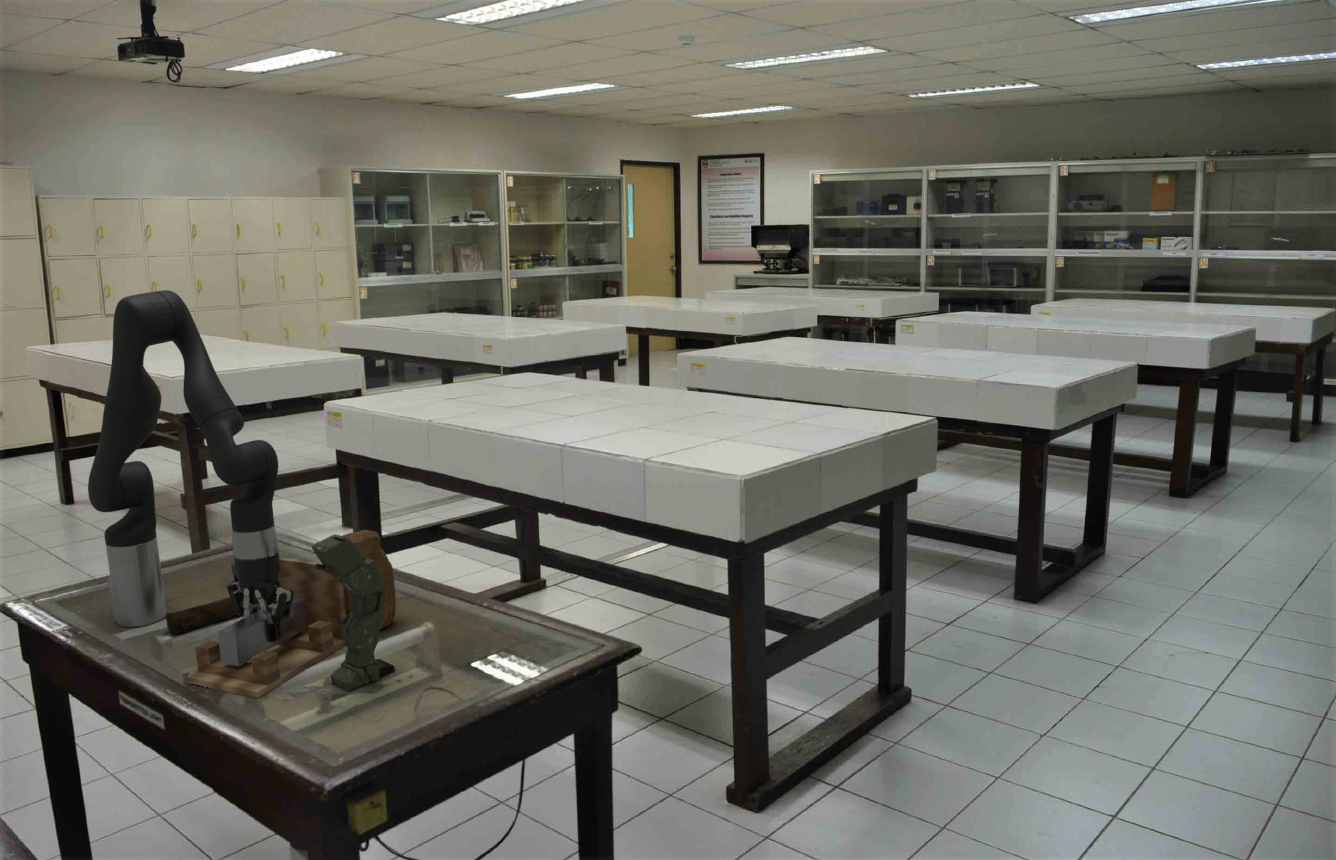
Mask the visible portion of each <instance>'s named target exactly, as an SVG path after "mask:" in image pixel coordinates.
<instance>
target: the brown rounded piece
mask: <svg viewBox="0 0 1336 860" xmlns="http://www.w3.org/2000/svg"><path fill="white" fill-rule="evenodd" d="M342 536H343V537H346V538H349V539H350V540H351V542H352V543H353V544H354V546H355V547H356V549H357V550H358V551H359V553H360V554H361V556H362V557H365V558H368V559H371V560H374V562H375V563H376V565H377V566H378V568H379V569H380V571H381V572H382V588H383V589H384V590H386V597H385V603H384V607H383V612H382V618H381V624H380V630H379V632H380V631H381V630H383V629H385V628H387V627H389V626H390V625H391V623H392V622H393V621H394V617H395V615H396V610H397V609H396V608H397V606H396V605H397V603H396V598H397V597H396V587H395V586H396V585H395V575H394V574H395V573H394V567H393V565H392V562H391V561H390V560H389V558H388V556H387V554H386V552H385V550H384V549H382V547H381V545H380V544H381V538H380V535H379V534H378V532H377V531H374V530H369V529H362V530H359V531H357V532H356V531H355V532H350V533H346V534H343V535H342ZM343 589H344V600H345V612H346V615H347V614H348V615H349V614H350V613H351V612H352V609H351V605H350V592H348V591H347V590H346V589H345V588H344V587H343Z"/></svg>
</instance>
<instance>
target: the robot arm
mask: <svg viewBox="0 0 1336 860" xmlns="http://www.w3.org/2000/svg"><path fill="white" fill-rule="evenodd" d="M112 326H113V327H112V353H111V355H112V356H111V365H110V372H109V381H108V387H107V391H106V395H105V401H104V407H103V413H102V423H101V430H100V436H99V441H98V445H97V449H96V452H95V455H94V459H93V462H92V465H91V468H90V471H89V476H88V482H87V483H88V484H87V492H88V493H87V494H88V499H89V501H90V504H91V506H92V507H93V508H94V509H95V510H96V511H97V512H100V513H114V512H118V511H123V510H128V511H127V512H126V514H125V515H124V516H123V517H121V518H120V519H119V520H117V521H116V522H114V523H113V524H111V525H109V526H108V527H107V528H106V529H105V531H104V541H105V542H104V543H105V549H106V556H107V563H108V571H109V576H108V577H107V586H108V592H109V599H110V605H111V612H112V620H113V622H116V624H117V625H118V626H120V627H123V628H136V627H143V626H147V625H151V624H155V623H157V622H159V621H161V620H162V619H164V618H165V617H166V614H167V613H168V612H167V605H166V599H165V591H164V590H165V589H164V581H163V575H162V567H161V560H160V551H159V545H158V537H157V535H158V534H157V514H156V513H157V512H156V502H155V501H156V500H155V499H156V498H155V486H154V480H153V476H152V472H151V469H150V468H149V467H148V465H147V464H146V463H145V462H143V461H140V460H133V461H128V459H129V458H130V457H131V455H132V454H133V453H134V452H135V451H136V450H138V449H139V448H140V447H141V446H142V445H143V444H144V442H146V440H147V439H149V438H150V436H151V435H152V433H153V432H154V431H155V429H156V427H157V424H158V421H159V416H160V411H161V406H162V394H161V390H160V388H159V386H158V385H157V383H156V382H155V381H154V379H153V378H152V377H151V375H150V373H148V372H147V370H146V368H145V367H144V362H145V361H144V359H145V353H146V351H147V349H148V348H149V347H150V346H155V345H159V344H164V343H168V342H173V343H174V345H175V346H176V348H177V349H178V350H179V353H180V354H181V356H182V360H183V366H184V367H183V369H184V370H183V371H184V373H183V386H182V387H183V389H182V390H183V391H182V393H183V398H184V399H183V400H184V403H185V405H186V408H187V409H188V412H189V413H190V415H191V417H192V418H193V420H194V422H195V423H196V425H197V426H198V428H199V429H200V431H201V432H202V434H203V435H204V440H205V442H206V446H207V449H208V453H209V455H210V456H209V457H210V459H211V463H212V466H213V467H212V468H213V471H214V472H215V474H216V477H218V479H219V480H221V481H222V482H223V483H224V484H225V485H228V486H230V487H238V486H242V485H245V486H244V489H243V491H241V492H240V494H238V495H235V497H234V498H232V499H231V501H230V503H229V504H230V505H229V508H230V509H229V512H230V521H231V529H232V537H231V538H232V541H231V543H232V544H231V545H232V553H233V561H234V564H235V573H236V578H237V579H238V580H239V581H237V582H235V581H234V582H233V583H230V584H229V585H227V586H226V589H227V593H228V595H229V597H230V598H231V601H232V603H233V606H234V609H235V612H236V614H237V617H239V616H242V617H243V618H245V617H247V616H249V615H251V614H253V613H255V612H257V611H259V606H260V607H261V610H262V612H263V613H265V615H266V618H267V621H268V623H269V624H267V626H268V635H269V642H272V643H274V642H276V641H278V640H279V639H280V637H281V635H282V633H281V623H280V622H281V621H282V620H284V619H286V618H288V617H289V616H290V611H291V606H292V600H293V595H294V591H293V590H292V589H290V590H288V591H287V590H285V589H283V588H281V585H280V583H279V580H278V575H279V573H280V561H279V557H280V553H279V551H280V550H279V542H278V534H277V531H276V528H275V527H276V525H275V518H274V509H273V507H274V506H273V500H274V496H275V492H276V485H277V484H276V483H277V479H278V472H279V459H278V458H279V457H278V455H277V452H276V450H275V448H274V447H273V446H272V445H271V443H269V442H268V441H267V440H263V439H255V440H251V441H246V442H243V443H240V444H236V442H235V440H234V436H236V435H237V434H239V433H240V432H241V431H242V430H243V428H244V427H245V421H244V418H243V416H242V413H241V412H240V411H239V409H238V408H237V405H236V404H235V402H234V401H233V400H232V398H231V396H230V395H229V393H228V392H227V391H226V389H225V387H224V385H223V384H222V382H221V380H220V378H219V376H218V374H217V372H216V370H215V368H214V365H213V363H212V360H211V358H210V356H209V353H208V350H207V348H206V346H205V344H204V341H203V339H202V337H201V334H200V332H199V329H198V328H197V324H196V322H195V320H194V318H193V316H192V314H191V312H190V310H189V307H188V306H187V305H186V303H185V302H184V300H183V299H182V297H180V295H179V294H178V293H176V292H175V291H172V290H165V289H164V290H157V291H156V290H155V291H150V292H142V293H137V294H132V295H128V296H124V297H123V298H121V299H120V300H119V301H118V302H117V303H116V307H115V310H114V314H113V325H112ZM240 601H241V602H242V605H243V607H241V606H240V603H239V602H240ZM270 603H272V605H270V606H268V604H270ZM272 610H273V612H274V616H273V615H272Z"/></svg>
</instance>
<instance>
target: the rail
mask: <svg viewBox="0 0 1336 860" xmlns="http://www.w3.org/2000/svg"><path fill="white" fill-rule="evenodd" d="M271 605H272V604H271ZM269 606H270V605H269ZM272 615H273V616H274V612H273V610H272ZM280 623H281V633H282V635H281V637H280V639H279V640H278V641H276V642H274V643H272V642H269V635H268V626H267V624H269V623H268V621H267V618H266V615H265V613H263V612H262V610H259V611H257V612H255V613H253V614H251V615H249V616H247V617H245V618H244V617H243V618H242V619H240V620H238V621H235V622H233V623H232V624H230V625H227V626H225V627H223V628H222V629H220V630H217V636H218V637H217V638H218V642H219V646H220V655H221V663H225V664H230V665H235V666H240V665H242V664H244V663H246V662H247V661H249V660H251V659H252V657H253V656H255V655H257V654H259V653H261V652H262V651H264V650H265V651H267V650H269V649H271V648H273V647H274V646H276V645H278V644H280V643H282V642H283V641H285V640H287V639H289V638H291V637H292V636H294V635H296V634H298V633H300V632H301V631H303V630H305V629H306V619H305V609H304V599H298V598H293V600H292V606H291V611H290V616H289V617H288V618H286V619H284V620H282V621H281V622H280Z"/></svg>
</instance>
